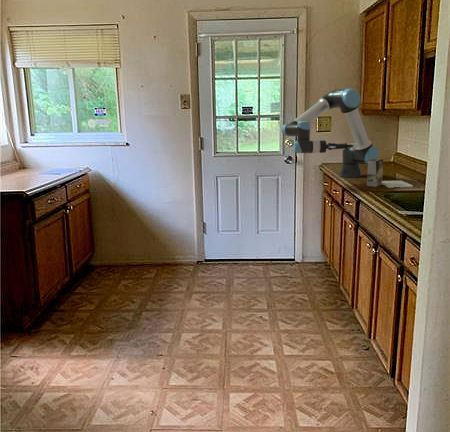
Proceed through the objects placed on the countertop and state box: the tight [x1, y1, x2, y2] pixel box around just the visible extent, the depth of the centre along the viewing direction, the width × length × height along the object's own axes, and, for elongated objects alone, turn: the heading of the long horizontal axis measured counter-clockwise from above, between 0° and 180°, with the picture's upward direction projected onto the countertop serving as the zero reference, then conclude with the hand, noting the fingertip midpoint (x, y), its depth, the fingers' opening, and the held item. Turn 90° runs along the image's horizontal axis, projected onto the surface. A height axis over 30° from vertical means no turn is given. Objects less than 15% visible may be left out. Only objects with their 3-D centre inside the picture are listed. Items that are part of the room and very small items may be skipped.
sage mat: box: [381, 180, 414, 189], centre depth 285 cm, size 19×14×1 cm
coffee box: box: [366, 158, 384, 188], centre depth 284 cm, size 9×6×16 cm
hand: (357, 145), depth 280 cm, fingers closed
